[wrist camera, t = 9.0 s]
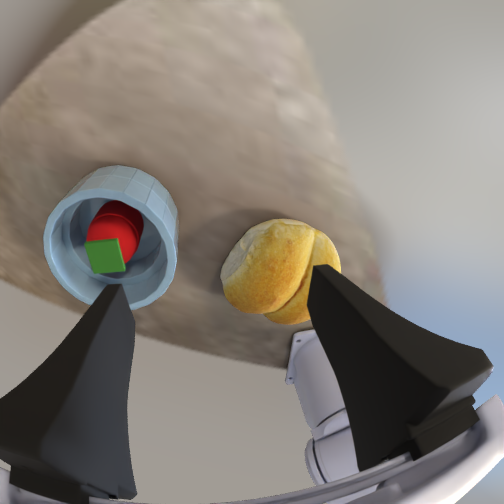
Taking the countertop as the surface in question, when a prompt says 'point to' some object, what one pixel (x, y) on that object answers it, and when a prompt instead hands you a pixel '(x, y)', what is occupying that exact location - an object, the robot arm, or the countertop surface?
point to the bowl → (150, 247)
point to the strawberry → (113, 237)
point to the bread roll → (276, 269)
